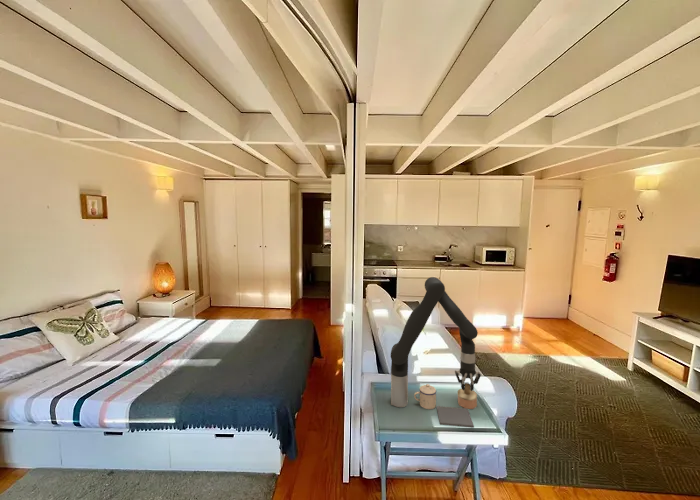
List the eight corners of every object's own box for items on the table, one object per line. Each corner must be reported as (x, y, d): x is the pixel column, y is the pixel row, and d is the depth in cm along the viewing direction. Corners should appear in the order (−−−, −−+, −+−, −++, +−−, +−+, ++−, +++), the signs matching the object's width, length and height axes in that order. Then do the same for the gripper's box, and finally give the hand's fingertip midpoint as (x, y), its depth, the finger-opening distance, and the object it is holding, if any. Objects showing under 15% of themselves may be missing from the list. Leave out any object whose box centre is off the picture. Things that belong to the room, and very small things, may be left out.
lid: (459, 399, 165) (459, 388, 164) (456, 389, 175) (456, 379, 174) (479, 401, 163) (479, 390, 163) (474, 391, 173) (474, 380, 173)
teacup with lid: (434, 400, 173) (434, 380, 172) (437, 410, 164) (438, 389, 163) (412, 399, 174) (413, 380, 173) (415, 409, 165) (415, 388, 164)
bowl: (460, 408, 166) (460, 399, 165) (456, 398, 175) (457, 390, 174) (477, 409, 164) (478, 400, 164) (473, 399, 173) (474, 391, 173)
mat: (439, 424, 153) (440, 422, 153) (436, 407, 166) (436, 406, 166) (473, 427, 150) (473, 425, 150) (467, 410, 164) (467, 408, 164)
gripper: (455, 362, 165) (455, 392, 166) (483, 363, 163) (482, 394, 164) (453, 356, 172) (452, 385, 174) (479, 357, 170) (479, 387, 171)
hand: (467, 389), depth 169 cm, fingers open, 3 cm apart
